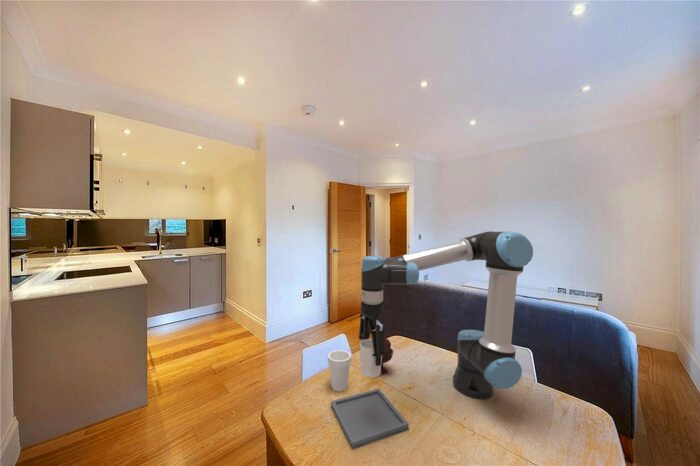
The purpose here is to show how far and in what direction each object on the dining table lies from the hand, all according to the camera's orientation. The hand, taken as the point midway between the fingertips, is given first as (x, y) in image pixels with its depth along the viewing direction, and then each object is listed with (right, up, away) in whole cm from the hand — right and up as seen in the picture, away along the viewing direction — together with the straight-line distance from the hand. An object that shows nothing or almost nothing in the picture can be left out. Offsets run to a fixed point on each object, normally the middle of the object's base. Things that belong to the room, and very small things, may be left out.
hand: (370, 367), depth 90 cm
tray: (-1, -18, +1) cm, 18 cm away
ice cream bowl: (+7, -17, +30) cm, 35 cm away
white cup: (0, -2, 0) cm, 2 cm away
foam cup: (-12, -17, +18) cm, 27 cm away
